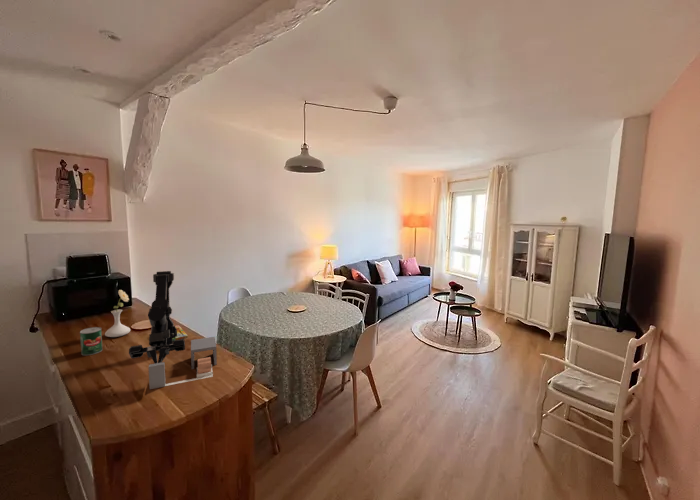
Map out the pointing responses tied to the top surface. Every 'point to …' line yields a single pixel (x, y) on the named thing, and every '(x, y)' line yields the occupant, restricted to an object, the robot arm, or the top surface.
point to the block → (204, 365)
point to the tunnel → (203, 348)
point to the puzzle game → (180, 333)
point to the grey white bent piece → (159, 376)
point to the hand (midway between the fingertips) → (157, 369)
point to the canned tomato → (91, 341)
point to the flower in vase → (118, 319)
